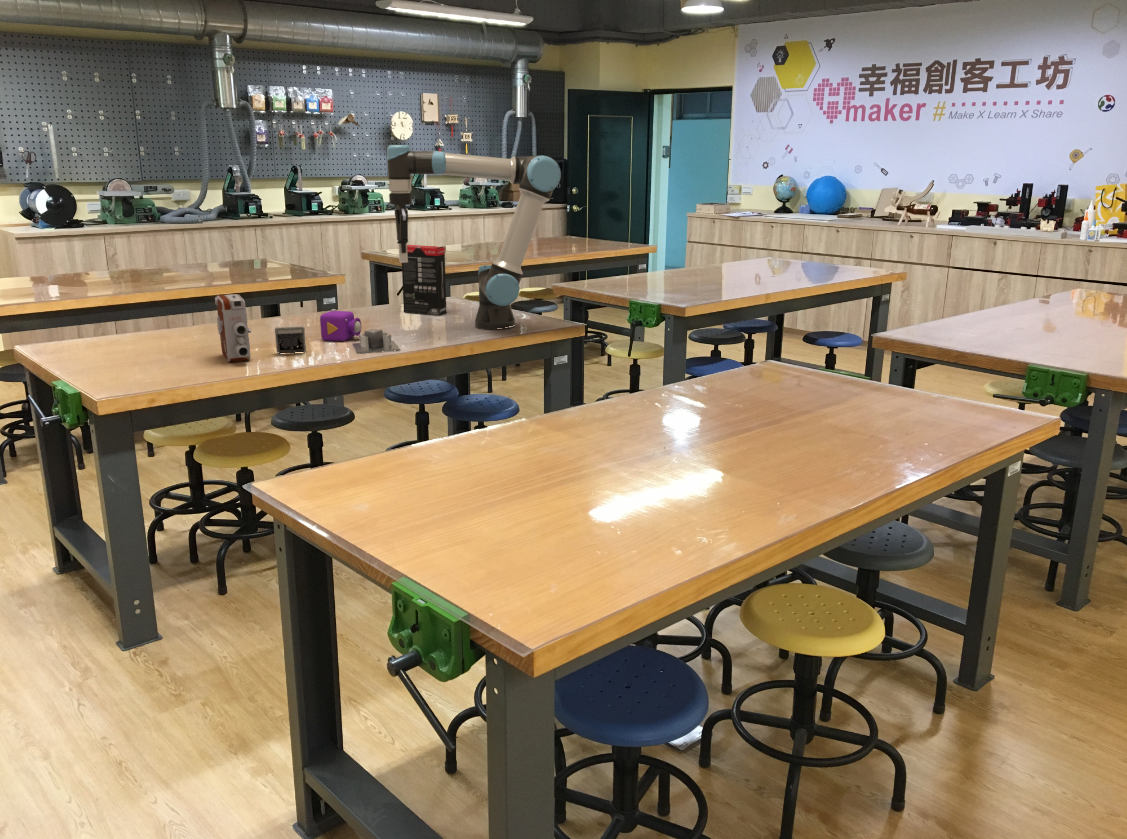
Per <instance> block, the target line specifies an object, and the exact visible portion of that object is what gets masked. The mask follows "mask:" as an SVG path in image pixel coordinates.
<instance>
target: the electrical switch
mask: <svg viewBox="0 0 1127 839" xmlns="http://www.w3.org/2000/svg"><path fill="white" fill-rule="evenodd" d="M305 328H306V327H305V326H304V325H288V326H287V325H285V326H276V327H275V328H274V335H275V336H274V337H275V344H276V346H275V347H276V352H277V353H278V352H279V353H278V354H279V355H280V353H295V352H304V351H305V352H306V351H307V345H306V335H305V334H306V333H305V330H306V329H305ZM294 351H295V352H294ZM305 352H304V353H305Z"/></svg>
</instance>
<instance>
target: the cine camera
mask: <svg viewBox="0 0 1127 839" xmlns="http://www.w3.org/2000/svg"><path fill="white" fill-rule="evenodd" d="M214 303H215V305H216V311H217V318H216V320H217V323H216V324H217V332H218V335H219V337H220V347H221V352H222V356H223V357H224V358H225V359H226V361H227V362H228V363H234V362H235V363H236V362H245V361H250V360H251V347H250V346H251V345H250V337H249V333H250V334H251V333H252V329H251V327H248V316H247V315H248V312H247V308H246V301H245V300H244V298H243V297H242V296H241V295H240V294H236V293H235V294H233V293H232V294H218V295H216V296H215V297H214Z"/></svg>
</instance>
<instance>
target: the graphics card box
mask: <svg viewBox="0 0 1127 839" xmlns="http://www.w3.org/2000/svg"><path fill="white" fill-rule="evenodd" d="M445 249H446V248H445V246H435V245H420V244H418V245H417V244H407V255H408V262H405V263H401V274H402V275H401V276H402V277H401V278H402V296H403V297H402V299H403V301H402V302H403V312H404V313H408V314H409V313H410V314H418V313H421V315H427V314H431V315H430V316H438V315H439V316H442V315H445V314H447V290H446V289H447V285H446V283H447V282H446V251H445Z"/></svg>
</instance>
